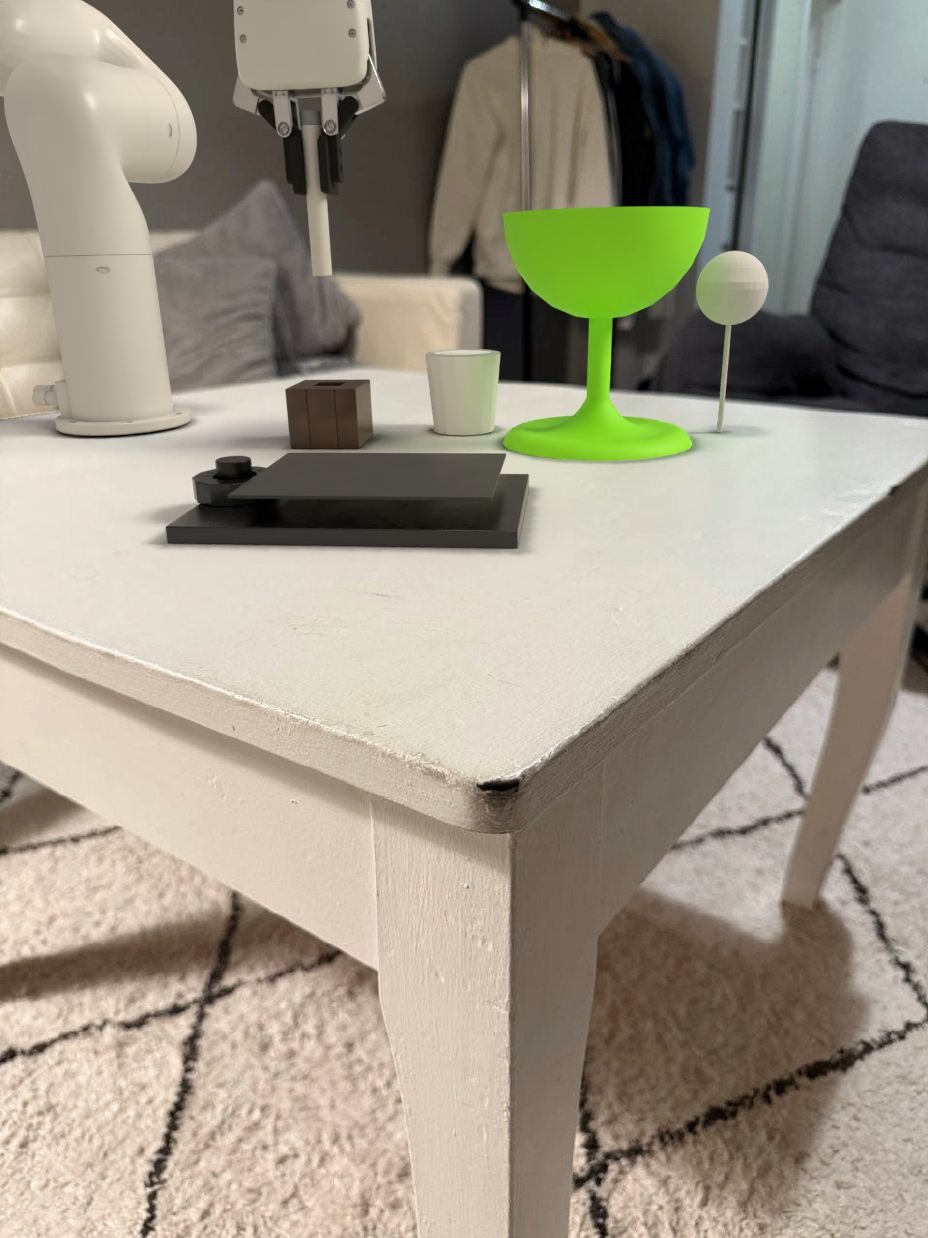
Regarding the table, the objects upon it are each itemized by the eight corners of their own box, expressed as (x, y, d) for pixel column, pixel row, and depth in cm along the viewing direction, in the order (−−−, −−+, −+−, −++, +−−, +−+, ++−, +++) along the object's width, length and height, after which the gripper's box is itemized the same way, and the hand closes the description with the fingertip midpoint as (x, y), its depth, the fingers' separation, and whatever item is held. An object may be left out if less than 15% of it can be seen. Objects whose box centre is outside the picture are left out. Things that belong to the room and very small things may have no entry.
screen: (227, 498, 52) (227, 495, 52) (288, 455, 63) (288, 452, 63) (491, 500, 50) (491, 497, 50) (506, 456, 61) (506, 453, 61)
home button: (212, 484, 57) (209, 462, 56) (224, 476, 59) (222, 455, 58) (246, 484, 56) (244, 462, 56) (257, 476, 59) (255, 455, 58)
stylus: (310, 276, 75) (297, 109, 70) (315, 275, 76) (303, 112, 72) (329, 275, 75) (317, 109, 70) (334, 275, 76) (322, 112, 72)
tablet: (154, 544, 52) (148, 502, 51) (237, 487, 65) (233, 452, 64) (517, 550, 50) (517, 505, 49) (528, 489, 63) (529, 453, 62)
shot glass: (494, 437, 81) (493, 355, 79) (419, 435, 82) (416, 355, 80) (506, 423, 87) (506, 347, 85) (436, 422, 89) (434, 348, 86)
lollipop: (758, 438, 78) (777, 249, 73) (687, 438, 79) (701, 251, 74) (749, 426, 84) (766, 250, 78) (683, 425, 85) (695, 251, 79)
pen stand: (290, 448, 78) (284, 388, 76) (308, 435, 84) (304, 379, 82) (359, 448, 77) (355, 388, 76) (373, 435, 83) (370, 379, 81)
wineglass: (546, 421, 88) (549, 217, 81) (712, 432, 81) (731, 211, 74) (470, 452, 75) (466, 212, 68) (661, 468, 68) (678, 203, 61)
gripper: (410, -75, 69) (420, 194, 76) (210, -62, 71) (237, 200, 78) (392, -111, 62) (405, 188, 69) (171, -96, 64) (204, 194, 71)
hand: (316, 192), depth 73 cm, fingers closed on stylus, 1 cm apart
